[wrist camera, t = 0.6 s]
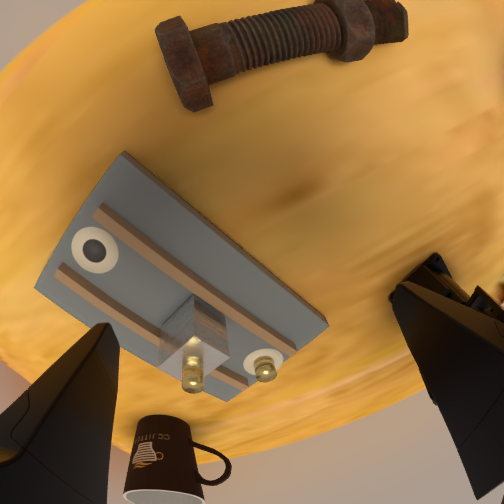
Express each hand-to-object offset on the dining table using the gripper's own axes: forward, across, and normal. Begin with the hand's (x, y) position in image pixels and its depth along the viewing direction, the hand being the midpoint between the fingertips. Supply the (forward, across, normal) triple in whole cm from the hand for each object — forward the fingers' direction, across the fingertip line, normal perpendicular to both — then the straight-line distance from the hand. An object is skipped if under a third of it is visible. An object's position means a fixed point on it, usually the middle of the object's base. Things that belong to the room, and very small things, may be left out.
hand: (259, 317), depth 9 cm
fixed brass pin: (+12, -1, +15) cm, 20 cm away
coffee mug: (+13, +10, +27) cm, 32 cm away
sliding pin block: (+12, +4, +9) cm, 15 cm away
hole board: (+13, +5, +8) cm, 16 cm away
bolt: (+14, -4, -10) cm, 17 cm away
